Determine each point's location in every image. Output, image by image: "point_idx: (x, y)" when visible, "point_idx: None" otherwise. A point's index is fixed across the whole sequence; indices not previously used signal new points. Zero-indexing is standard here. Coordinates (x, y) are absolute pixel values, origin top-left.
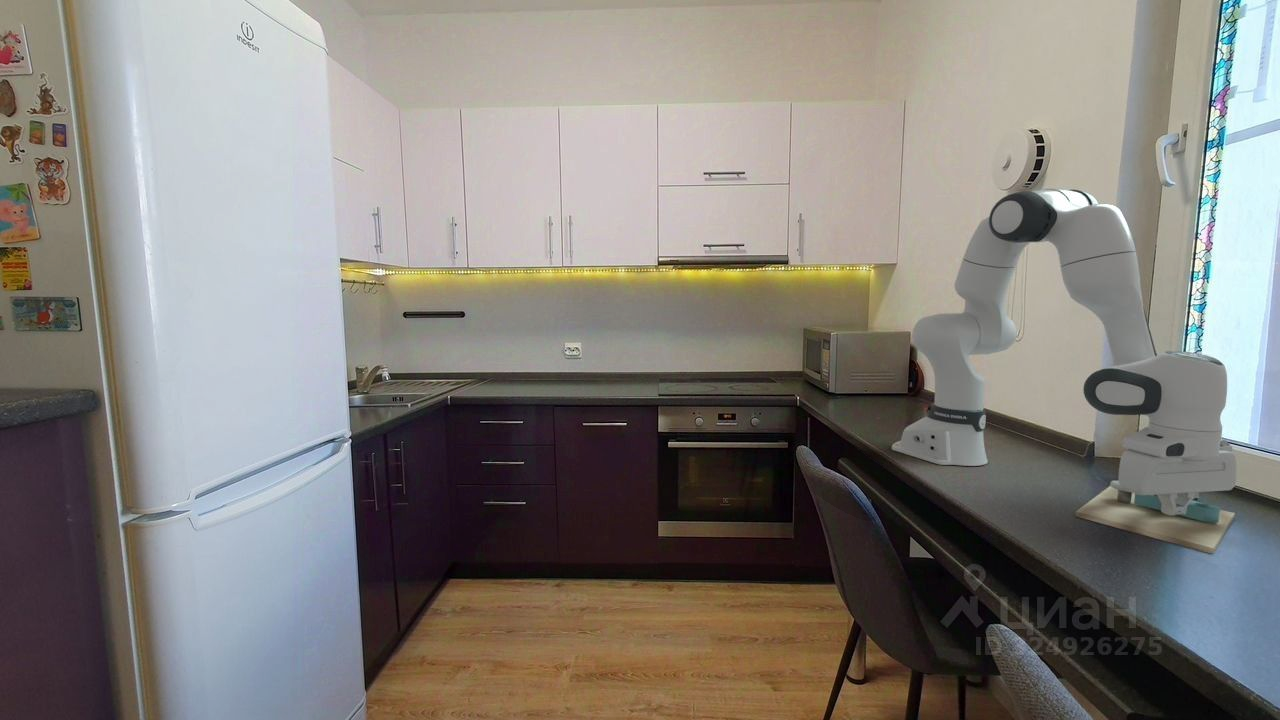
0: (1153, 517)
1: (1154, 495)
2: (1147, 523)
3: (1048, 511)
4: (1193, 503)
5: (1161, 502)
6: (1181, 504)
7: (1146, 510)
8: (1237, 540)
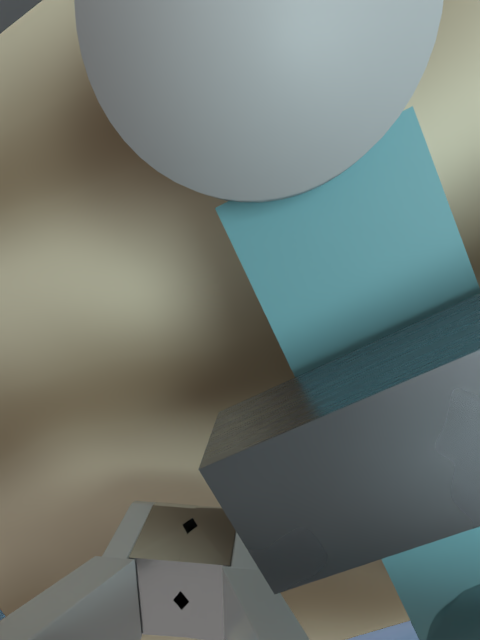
0: (165, 411)
1: (218, 420)
2: (34, 472)
3: None
4: (465, 579)
5: (88, 565)
6: (225, 635)
7: (246, 305)
8: (391, 634)
